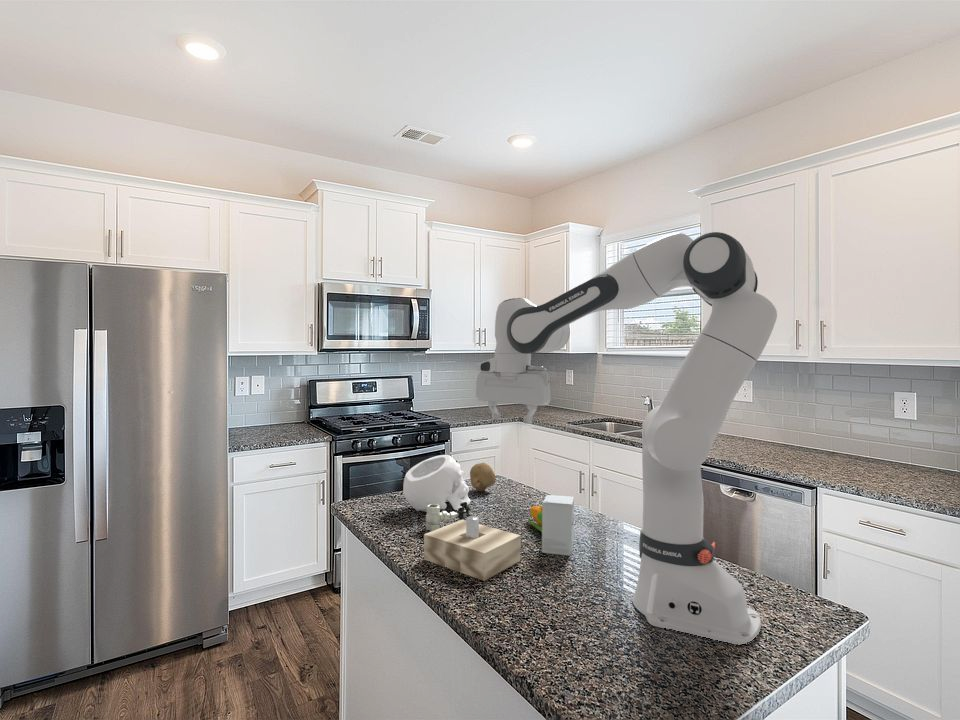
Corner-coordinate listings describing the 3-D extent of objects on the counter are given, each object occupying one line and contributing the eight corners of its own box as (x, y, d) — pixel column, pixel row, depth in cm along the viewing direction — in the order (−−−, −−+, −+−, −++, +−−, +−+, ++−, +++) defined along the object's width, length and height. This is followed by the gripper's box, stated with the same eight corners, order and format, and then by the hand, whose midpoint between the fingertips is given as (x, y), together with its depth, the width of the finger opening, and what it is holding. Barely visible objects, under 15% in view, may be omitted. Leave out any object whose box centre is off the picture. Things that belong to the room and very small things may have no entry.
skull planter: (486, 502, 163) (461, 451, 159) (434, 541, 155) (407, 488, 150) (465, 491, 175) (442, 444, 171) (416, 527, 167) (390, 478, 162)
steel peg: (481, 559, 123) (481, 517, 123) (473, 564, 121) (473, 521, 121) (471, 556, 125) (471, 515, 125) (463, 560, 123) (463, 518, 122)
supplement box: (571, 556, 126) (572, 504, 126) (540, 553, 128) (541, 501, 128) (574, 545, 133) (574, 496, 133) (545, 542, 135) (545, 493, 135)
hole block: (520, 560, 123) (520, 535, 123) (484, 580, 112) (484, 553, 112) (462, 542, 134) (462, 519, 134) (423, 559, 123) (424, 534, 123)
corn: (556, 516, 132) (519, 495, 151) (554, 546, 132) (518, 522, 151) (581, 515, 135) (542, 495, 154) (579, 544, 135) (540, 520, 153)
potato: (497, 488, 187) (497, 461, 187) (493, 495, 178) (493, 466, 178) (472, 487, 188) (472, 459, 188) (467, 493, 180) (467, 465, 180)
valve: (429, 534, 140) (470, 528, 145) (429, 510, 140) (471, 505, 145) (422, 526, 146) (462, 521, 151) (422, 503, 146) (462, 498, 151)
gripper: (556, 366, 124) (555, 424, 124) (487, 363, 136) (486, 416, 137) (542, 366, 119) (541, 427, 119) (472, 364, 131) (471, 419, 132)
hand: (511, 421), depth 128 cm, fingers open, 8 cm apart
